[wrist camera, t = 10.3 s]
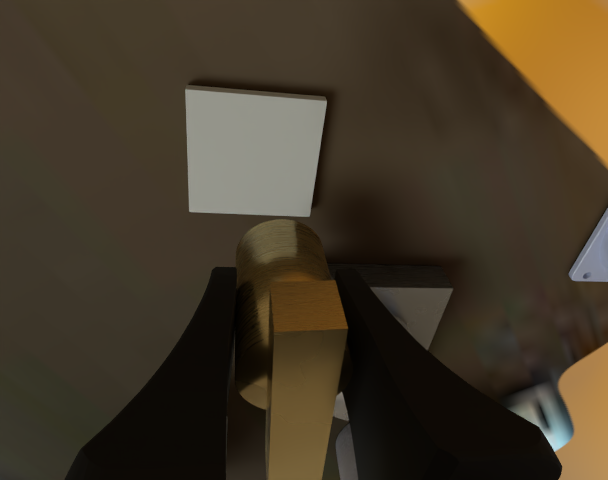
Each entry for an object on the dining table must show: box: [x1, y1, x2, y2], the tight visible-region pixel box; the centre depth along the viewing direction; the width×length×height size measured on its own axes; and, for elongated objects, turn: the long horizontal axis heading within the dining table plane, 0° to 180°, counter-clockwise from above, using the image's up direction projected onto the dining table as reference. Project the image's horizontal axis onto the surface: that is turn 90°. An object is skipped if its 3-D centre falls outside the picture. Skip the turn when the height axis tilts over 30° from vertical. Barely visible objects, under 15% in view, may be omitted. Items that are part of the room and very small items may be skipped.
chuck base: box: [327, 263, 453, 351], centre depth 28 cm, size 9×9×2 cm
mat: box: [185, 85, 327, 217], centre depth 21 cm, size 6×6×1 cm
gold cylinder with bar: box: [235, 219, 353, 480], centre depth 13 cm, size 3×6×6 cm, turn 176°
